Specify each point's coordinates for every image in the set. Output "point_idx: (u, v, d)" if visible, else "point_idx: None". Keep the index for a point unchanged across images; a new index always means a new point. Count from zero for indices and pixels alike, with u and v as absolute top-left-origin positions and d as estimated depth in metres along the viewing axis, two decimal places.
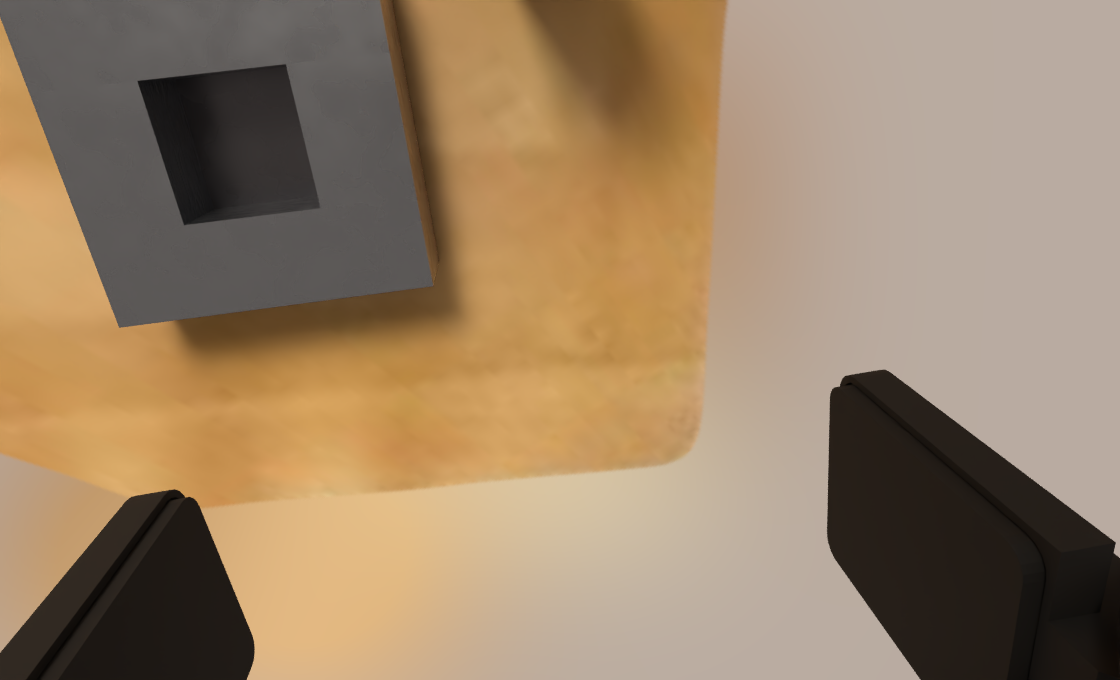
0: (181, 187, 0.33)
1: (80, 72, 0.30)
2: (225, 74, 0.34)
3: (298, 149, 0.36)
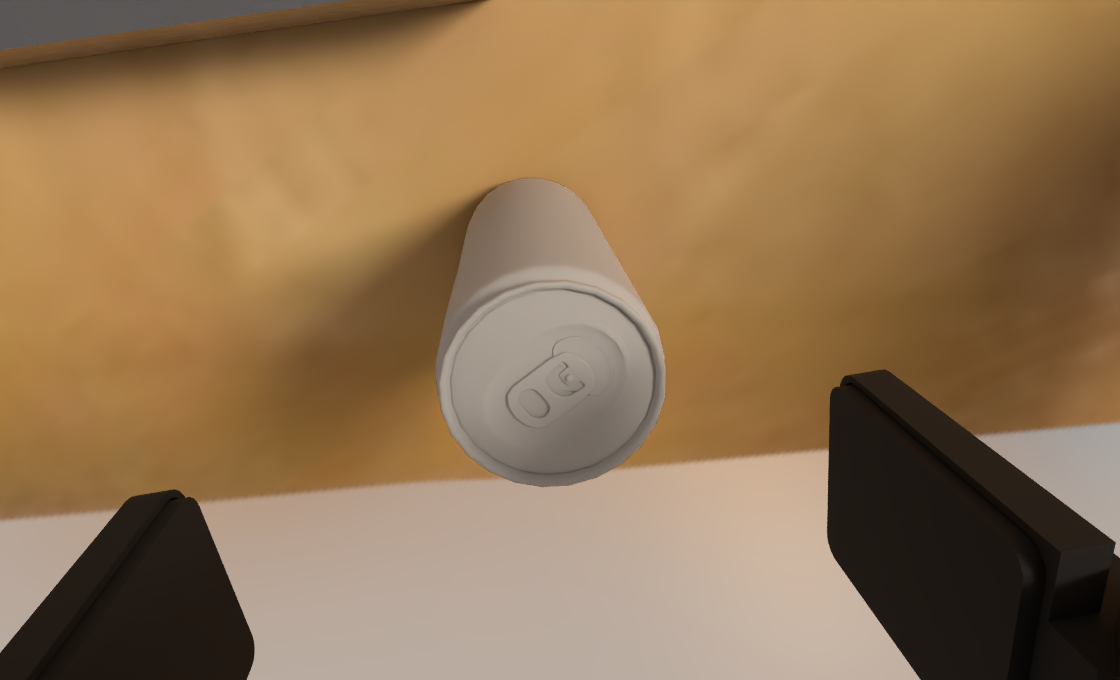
0: None
1: None
2: None
3: None
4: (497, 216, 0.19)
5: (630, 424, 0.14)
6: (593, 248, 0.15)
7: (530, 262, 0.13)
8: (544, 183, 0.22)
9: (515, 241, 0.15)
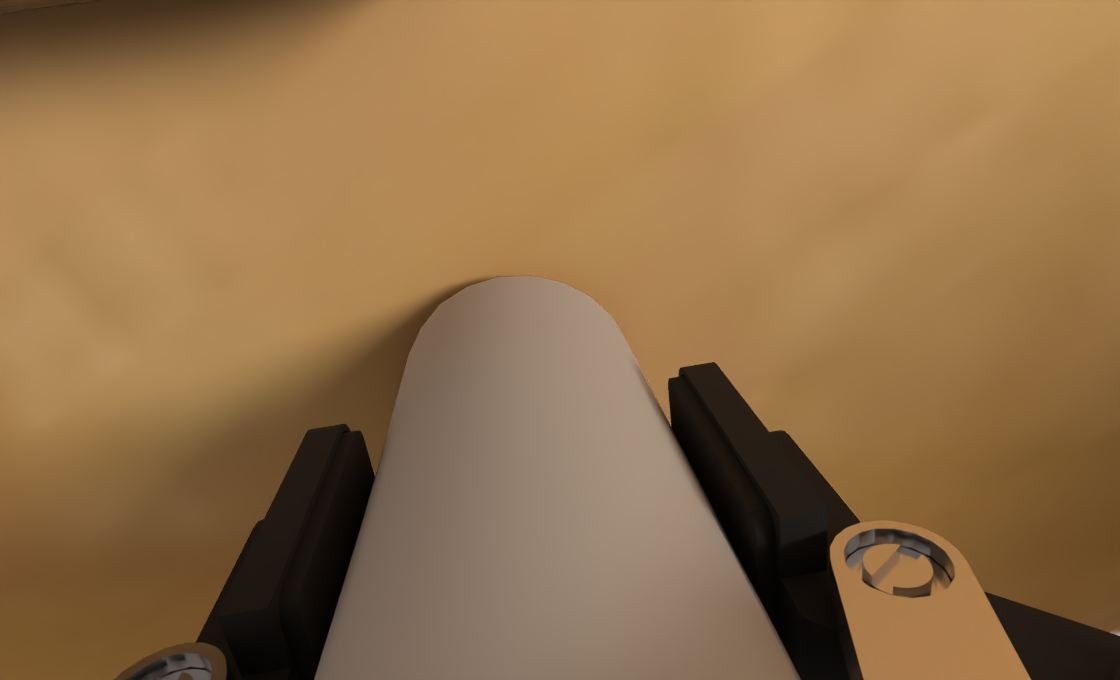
0: None
1: None
2: None
3: None
4: (446, 406, 0.09)
5: None
6: (696, 596, 0.06)
7: None
8: (541, 291, 0.12)
9: (477, 590, 0.05)
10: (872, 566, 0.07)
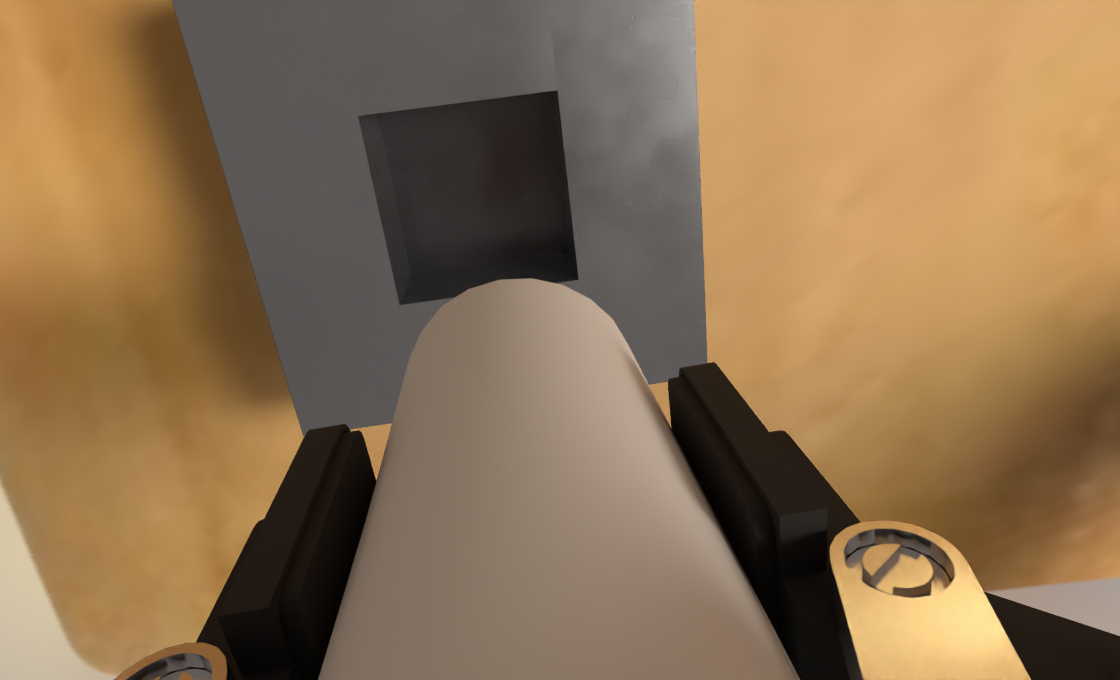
0: None
1: (566, 12, 0.22)
2: (554, 153, 0.27)
3: (466, 232, 0.28)
4: (448, 410, 0.09)
5: None
6: (698, 602, 0.06)
7: None
8: (543, 294, 0.12)
9: (479, 596, 0.05)
10: (872, 566, 0.07)
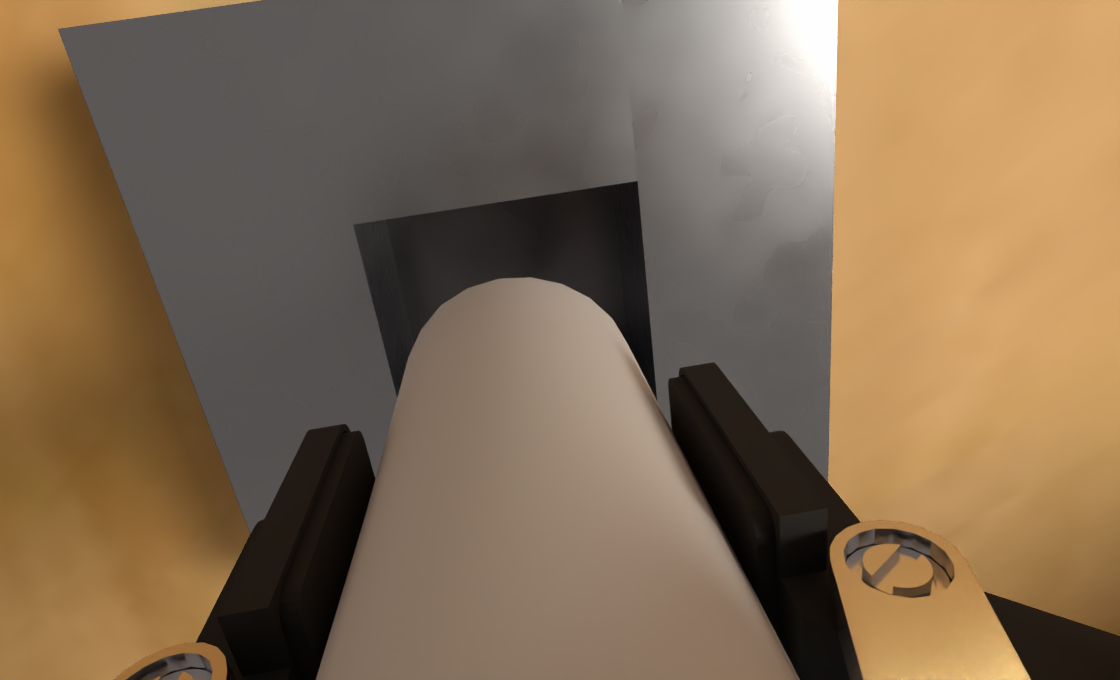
0: None
1: (654, 73, 0.15)
2: (616, 244, 0.20)
3: None
4: (447, 409, 0.09)
5: None
6: (697, 601, 0.06)
7: None
8: (542, 293, 0.12)
9: (478, 595, 0.05)
10: (872, 566, 0.07)
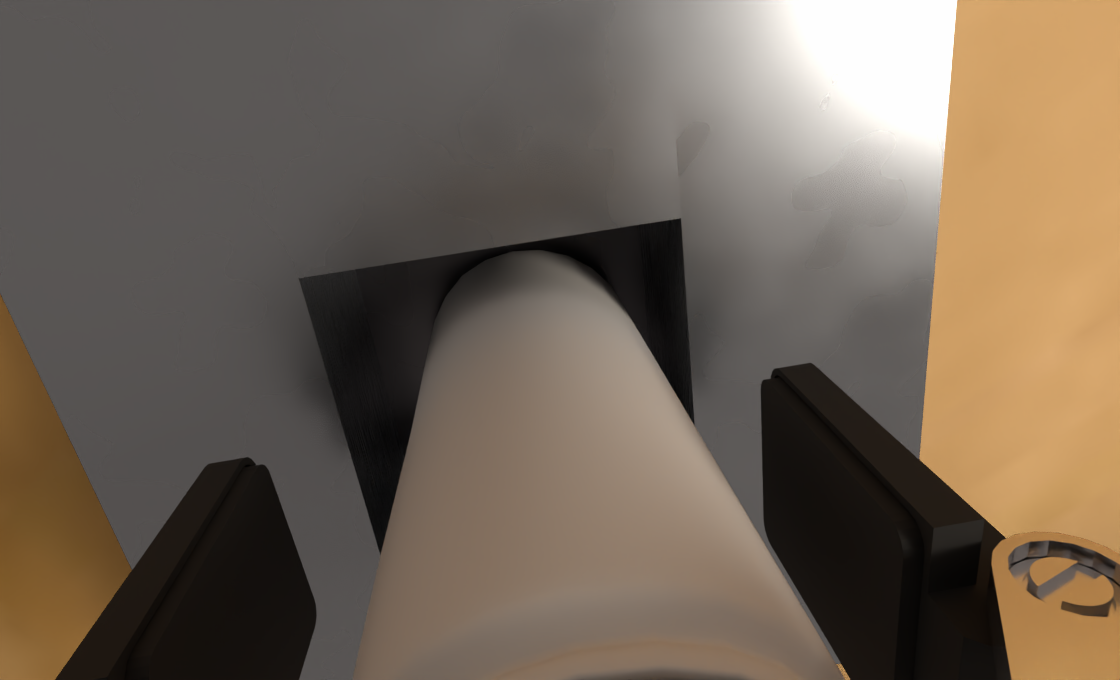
0: None
1: (707, 73, 0.11)
2: (641, 286, 0.16)
3: None
4: (476, 344, 0.11)
5: None
6: (672, 453, 0.08)
7: (553, 564, 0.05)
8: (550, 261, 0.14)
9: (512, 447, 0.07)
10: (1040, 577, 0.06)
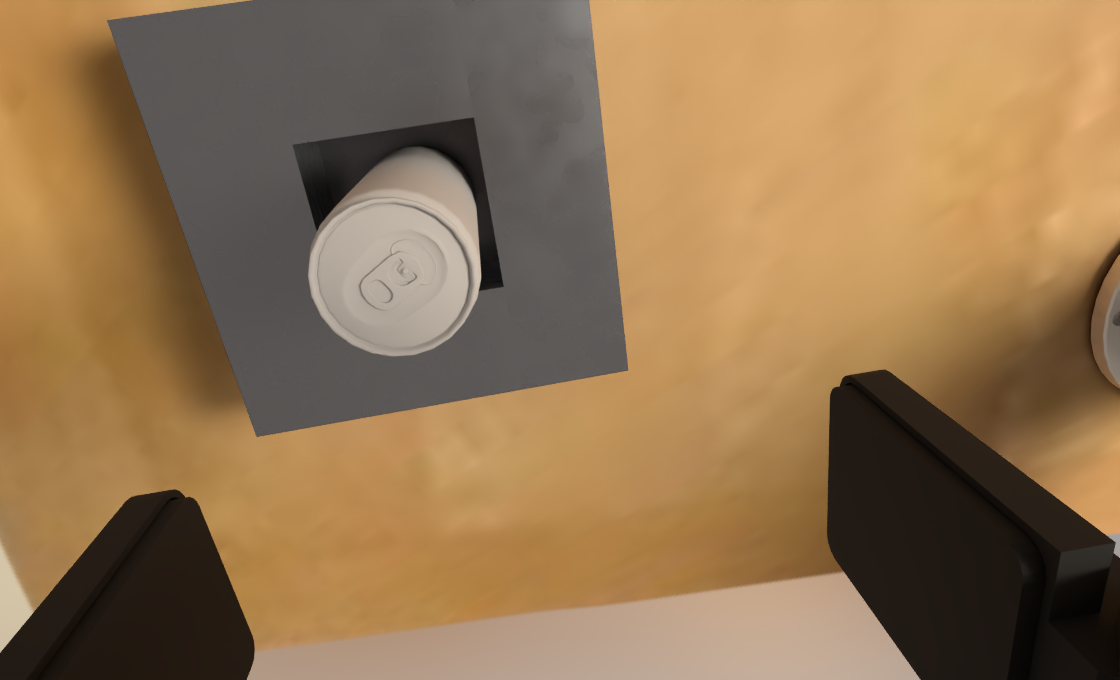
0: None
1: (478, 48, 0.24)
2: (482, 170, 0.29)
3: None
4: (373, 170, 0.24)
5: (455, 307, 0.19)
6: (433, 184, 0.21)
7: (373, 188, 0.19)
8: (423, 149, 0.27)
9: (373, 180, 0.20)
10: None
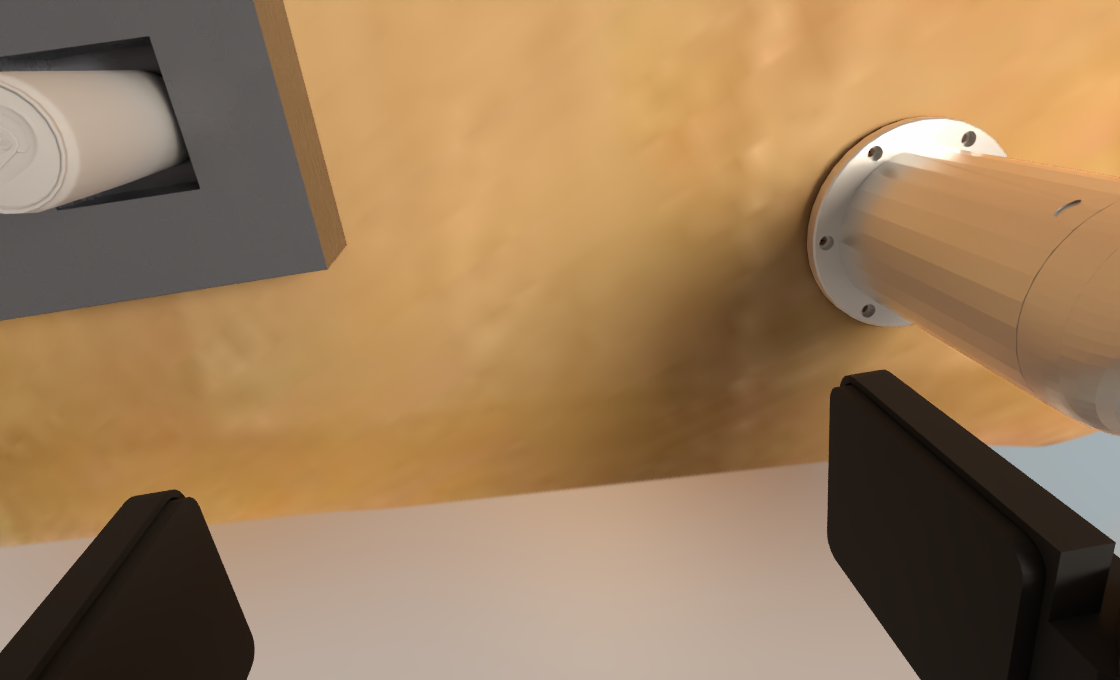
0: (46, 52, 0.30)
1: None
2: None
3: None
4: None
5: (52, 173, 0.24)
6: (58, 79, 0.25)
7: None
8: (134, 70, 0.32)
9: None
10: None
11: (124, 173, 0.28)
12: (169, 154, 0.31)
